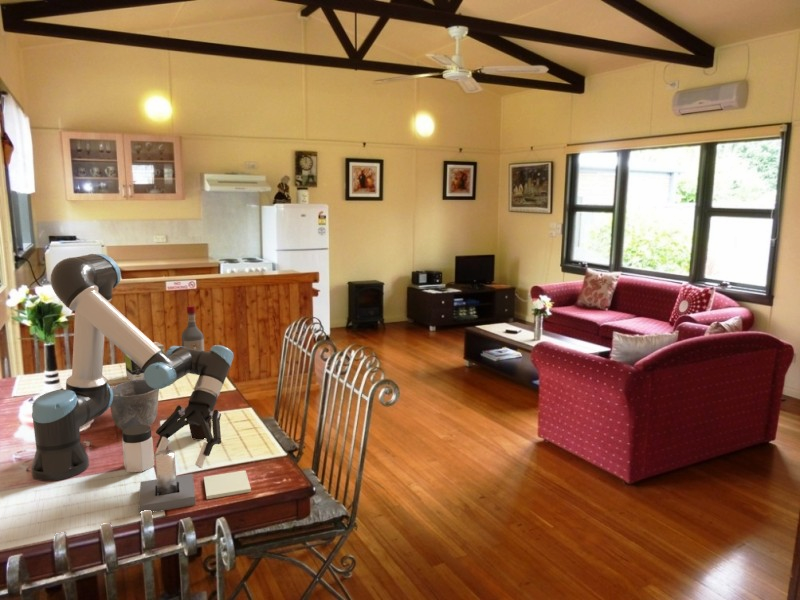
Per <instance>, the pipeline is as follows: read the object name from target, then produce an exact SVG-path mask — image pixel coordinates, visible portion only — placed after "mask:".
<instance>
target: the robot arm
mask: <svg viewBox="0 0 800 600" xmlns="http://www.w3.org/2000/svg"><path fill="white" fill-rule="evenodd" d="M121 273H122V272H121V269H120V267H119V265H118V263H117V262H116V261H115V260H114V259H113V258H112V257H110V256H109V255H107V254H104V253H95V254H94V253H90V254H86V255H81V256H75V257H68V258H65V259H62V260H61V261H59V262H57V263H56V264H55V266H54V267H53V269H52V271H51V273H50V283H51V284H50V285H51V288H52V290H53V292H54V293H55V295H56V297H57V298H58V299H59V300H60V301H61V302H62V304H63V305H64V306H66V307H67V309H69V310H70V311H72V312H73V311H74V326H73V328H74V330H73V346H72V349H73V351H72V364H71V365H72V366H71V367H72V368H71V369H72V370H71V375H70V376H69V377H68V378H66V381H65V382H66V383H65V389H59V390H58V389H57V390H53V391H51V392H46V393H43V394H42V395H40V396H38V397H37V398H36V399H35V400H34V401H33V403H32V407H31V409H32V411H31V412H32V413H31V418H32V421H33V423H32V424H33V433H34V440H35V441H34V442H35V453H34V457H33V461H32V464H31V476H32V478H33V479H35V480H38V481H45V482H46V481H47V482H51V481H61V480H64V479H69V478H73V477H74V476H77V475H79V474H81V473H83V472H85V471H86V470H87V469H89V466H90V461H89V456H88V453H87V452H86V450H85V447H84V446H83V444H82V441H81V433H80V428H81V427H82V426H84V425H87V424H88V423H89V422H91V421H92V420H94V419H97V418H99V417H101V416H102V415H103V414H104V413H105V412H107V411H108V410H109V409H110V406H111V404H112V401H113V391H112V389H111V388H110V387H111V386H110V384H109V383H108V379H107V377H106V376H105V375H103V371H104V370H103V366H104V352H105V351H104V350H105V349H104V348H105V338H106V339H107V340H108V341H110V342H111V343H112V344H113V345H114V346H116V347H117V348H118V349H119V350H120V351H121V352H122V353H123V354H124V355H125V354H126V355H127V356H128V357H129V358H130V359H131V360H132V361H133V362H134V363H136V364H137V365H138V366H139V367H140V368H141V369H142V370H143V371H144V379H145V381H146V383H147V385H148V386H150V387H151V388H154V389H159V390H162V389H164V388H166V387H169V386H171V385H173V384H174V383H175V382H176V381H178V380H180V379H182V378H183V377H184V376H186V375H188V374H190V375H196V376H197V375H198V378H197V380H196V382H195V385H194V387H193V391H192V392H191V394H190V397H189V400H188V403H187V404H188V405H187V406H186V407H182V406H181V405H177V406H176V408H175V409H174V410H173V412H172V413H171V414H170V415H169V416H168V417H167V419H166V420H165V421H164V422H162V424H161V425H160V426H159V427H158V428H157V429H156V430H155V434H157V435H159V439H158V441H157V443H156V448H157V449H156V451H155V452H154V457H153V459H154V460H155V454H156V453H157V452H159V451H162V450H167V447H168V445H169V443H170V439H169V438H170V437H172V436H173V435H175V434H176V433H177V432H178V431H179V430H181V429H182V428H184V427H185V426H188V425H189V423H190V424H196V425H201V426H202V428H203V431H204V434H205V437H206V439H205V441H203V444H202V446H201V448H200V451H199V454H198V456H197V459H196V461H195V464H194V465H195V466H196V467H198V468H199V469H203V467H204V464H205V461H206V459H207V457H210V455H211V451H212V449H213V447H214V446H215V445H221V444H222V435H221V425H220V424H221V423H220V420H221V416H222V413H221V412H220V411H218V409H215V407H216V405H217V401H218V398H219V396H220V394H221V391H222V389H223V386H224V383H225V381H226V378H227V376H228V374H229V371H230V369H231V366H232V364H233V363H232V362H233V360H234V357H235V356H234V352H233V351H232V350H231V349H230V348H229V347H226V346H224V345H220V344H217V345H215V344H214V345H212V346H211V347H210V349H209V350H208V351H207V350H204V351H201V350H196V349H191V348H186V347H183V346H182V345H181V346H179V345H171V346H170V347H169V348H168V350H166V352H165V353H164V352H163V351H162V350H161V349H160V348H158V347H157V346H156V345H155V344H154V343H153V341H152V340H151V339H150V338H149V337H148V336H147V335H146V334H144V333H143V332H142V331H141V330H140V329H139V328H138V326H136V325H134V323H133V322H131V321H130V320H129V319H128V318H127V317H126V316H125V315H124V314H122V313H121V312H120V310H118V309H117V308H116V307H115V306H114V305H113V304H112V303H110V302H111V301H112V300H113V290H114V289H115V288H116V287H117V286H118V285H119V284H120V282H121V278H122V274H121ZM212 410H213V411H212ZM210 417H212V425H211V427H212V430H211V431H210V428H209V424H208V421H207V419H209V418H210Z"/></svg>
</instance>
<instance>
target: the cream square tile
mask: <svg viewBox="0 0 800 600" xmlns="http://www.w3.org/2000/svg"><path fill="white" fill-rule="evenodd" d="M203 482H204V488H205V489H204V491H205V496H206V500H211V499H216V498H222V497H229V496H235V495H241V494H246V493H251V492H252V488H251V485H250V481H249V477H248V474H247V471H246V470H244V469H243V470H239V471H231V472H226V473H220V474H212V475H207V476H203Z"/></svg>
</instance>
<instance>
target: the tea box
mask: <svg viewBox="0 0 800 600" xmlns="http://www.w3.org/2000/svg"><path fill="white" fill-rule="evenodd" d="M152 342H153V341H152ZM153 343H154V344H155V345H156V346H157V347H158V348H160V349H161V350H162V351H163V352H164V353H165V354H166V352H165V345H164V344H162V343H160V342H158V341H154V342H153ZM124 362H125V364H124V365H125V373H126V377H127V378H128V379H129V381H132V380H145V379H144V371H143V370H142V369H141V368H140V367H139V366H138V365H137V364H136V363H134V362H133V361H132V360H131V359H130V358H129V357H128V356H127V355H126V354H124Z"/></svg>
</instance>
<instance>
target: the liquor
mask: <svg viewBox="0 0 800 600" xmlns="http://www.w3.org/2000/svg"><path fill="white" fill-rule="evenodd" d="M186 313H187V326H186V328H185V329H183V331H182V332H181V335H180V336H181V346H183V347H186V348H191V349H196V350H201V351H205V341H204V339H205V338H204V337H205V336H204V334H203V332H202V331H201V330H200V329H199V328H198V327H197V324H196V306H195V305H187V306H186Z"/></svg>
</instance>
